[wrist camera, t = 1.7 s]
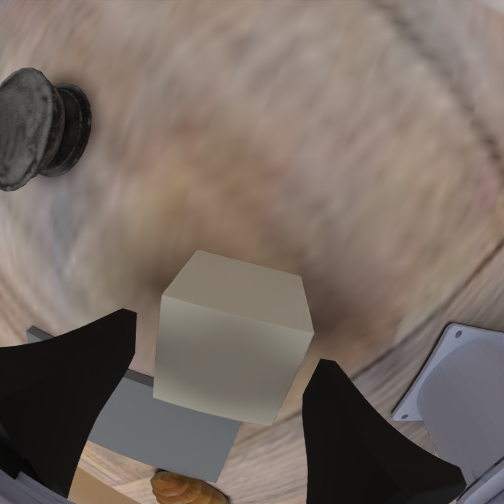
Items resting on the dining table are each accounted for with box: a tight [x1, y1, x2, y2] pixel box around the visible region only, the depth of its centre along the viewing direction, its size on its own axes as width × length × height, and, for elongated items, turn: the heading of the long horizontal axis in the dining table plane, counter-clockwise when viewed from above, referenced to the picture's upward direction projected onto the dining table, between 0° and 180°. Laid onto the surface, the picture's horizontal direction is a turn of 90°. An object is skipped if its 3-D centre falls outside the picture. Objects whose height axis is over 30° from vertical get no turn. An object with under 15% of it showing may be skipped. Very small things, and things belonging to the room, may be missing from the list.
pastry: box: [150, 471, 229, 504], centre depth 20 cm, size 9×7×4 cm
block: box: [153, 250, 314, 426], centre depth 12 cm, size 5×5×5 cm
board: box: [26, 326, 241, 483], centre depth 18 cm, size 16×11×1 cm
